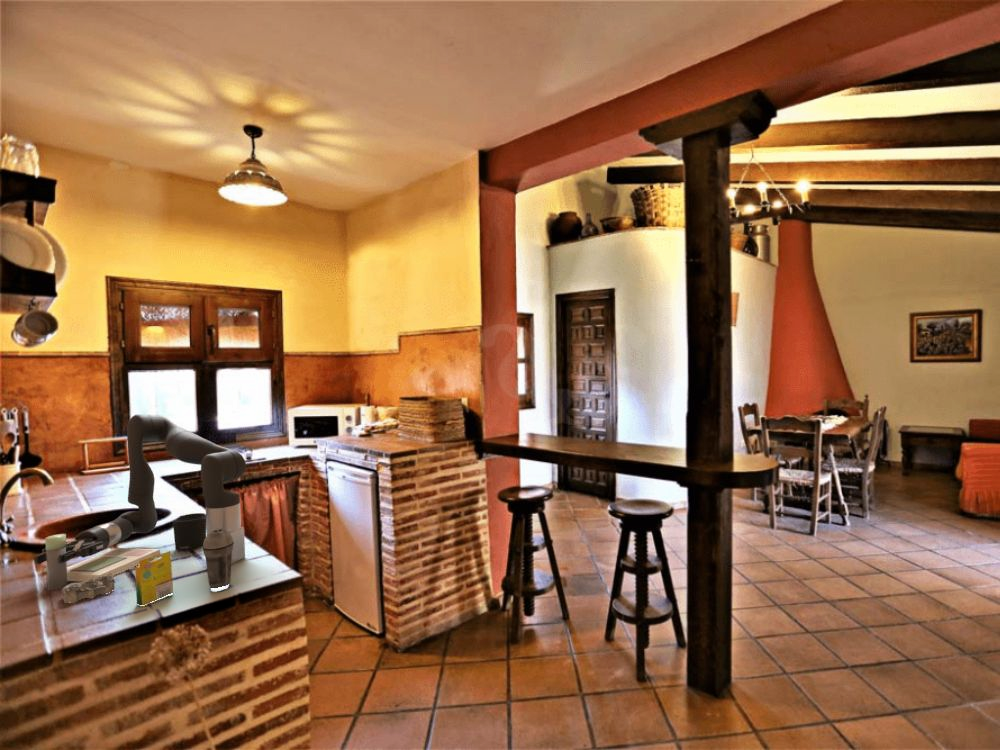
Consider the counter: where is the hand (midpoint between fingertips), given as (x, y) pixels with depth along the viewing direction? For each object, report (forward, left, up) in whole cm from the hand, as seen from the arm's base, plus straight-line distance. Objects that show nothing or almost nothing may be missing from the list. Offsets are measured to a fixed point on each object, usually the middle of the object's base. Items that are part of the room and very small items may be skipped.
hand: (48, 559), depth 134 cm
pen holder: (-13, -34, -9) cm, 38 cm away
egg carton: (-13, +1, -9) cm, 16 cm away
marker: (0, -2, -9) cm, 9 cm away
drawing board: (-1, -16, -9) cm, 18 cm away
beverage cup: (-47, -6, -9) cm, 48 cm away
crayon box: (-35, +2, -9) cm, 36 cm away
